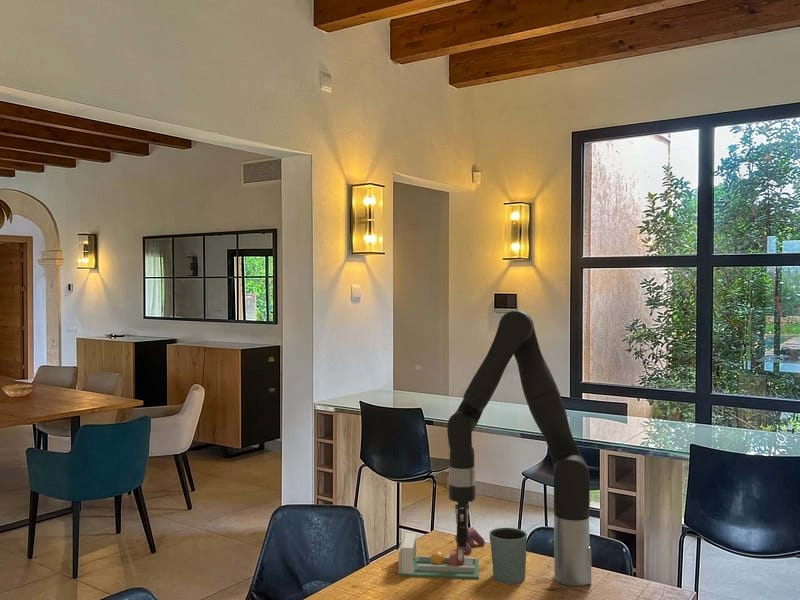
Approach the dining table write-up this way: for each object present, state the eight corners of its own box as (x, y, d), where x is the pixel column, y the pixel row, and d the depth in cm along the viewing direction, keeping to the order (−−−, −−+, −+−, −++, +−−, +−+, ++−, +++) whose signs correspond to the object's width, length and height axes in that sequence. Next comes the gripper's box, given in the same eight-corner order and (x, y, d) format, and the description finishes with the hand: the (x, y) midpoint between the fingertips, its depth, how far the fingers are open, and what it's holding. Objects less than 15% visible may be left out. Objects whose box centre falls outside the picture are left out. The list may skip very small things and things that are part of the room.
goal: (416, 557, 192) (416, 533, 192) (412, 573, 180) (412, 548, 180) (403, 556, 193) (403, 532, 193) (398, 573, 180) (398, 547, 180)
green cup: (527, 586, 173) (526, 540, 173) (488, 583, 175) (488, 538, 175) (527, 571, 183) (527, 528, 183) (490, 569, 185) (490, 526, 185)
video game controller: (475, 548, 206) (466, 526, 208) (487, 544, 204) (477, 521, 206) (459, 557, 198) (450, 534, 200) (471, 553, 196) (462, 530, 198)
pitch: (478, 561, 191) (478, 554, 191) (478, 579, 178) (478, 571, 178) (402, 558, 193) (402, 551, 193) (398, 575, 180) (398, 568, 180)
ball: (444, 563, 187) (444, 549, 187) (444, 569, 183) (444, 554, 183) (430, 563, 188) (430, 549, 188) (430, 568, 184) (429, 554, 184)
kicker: (472, 557, 191) (472, 518, 192) (473, 576, 177) (473, 534, 178) (450, 556, 192) (450, 518, 192) (449, 575, 178) (449, 534, 178)
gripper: (475, 489, 178) (475, 553, 177) (475, 476, 192) (475, 535, 191) (447, 488, 179) (448, 552, 178) (449, 475, 193) (449, 534, 192)
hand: (462, 543), depth 185 cm, fingers open, 4 cm apart
